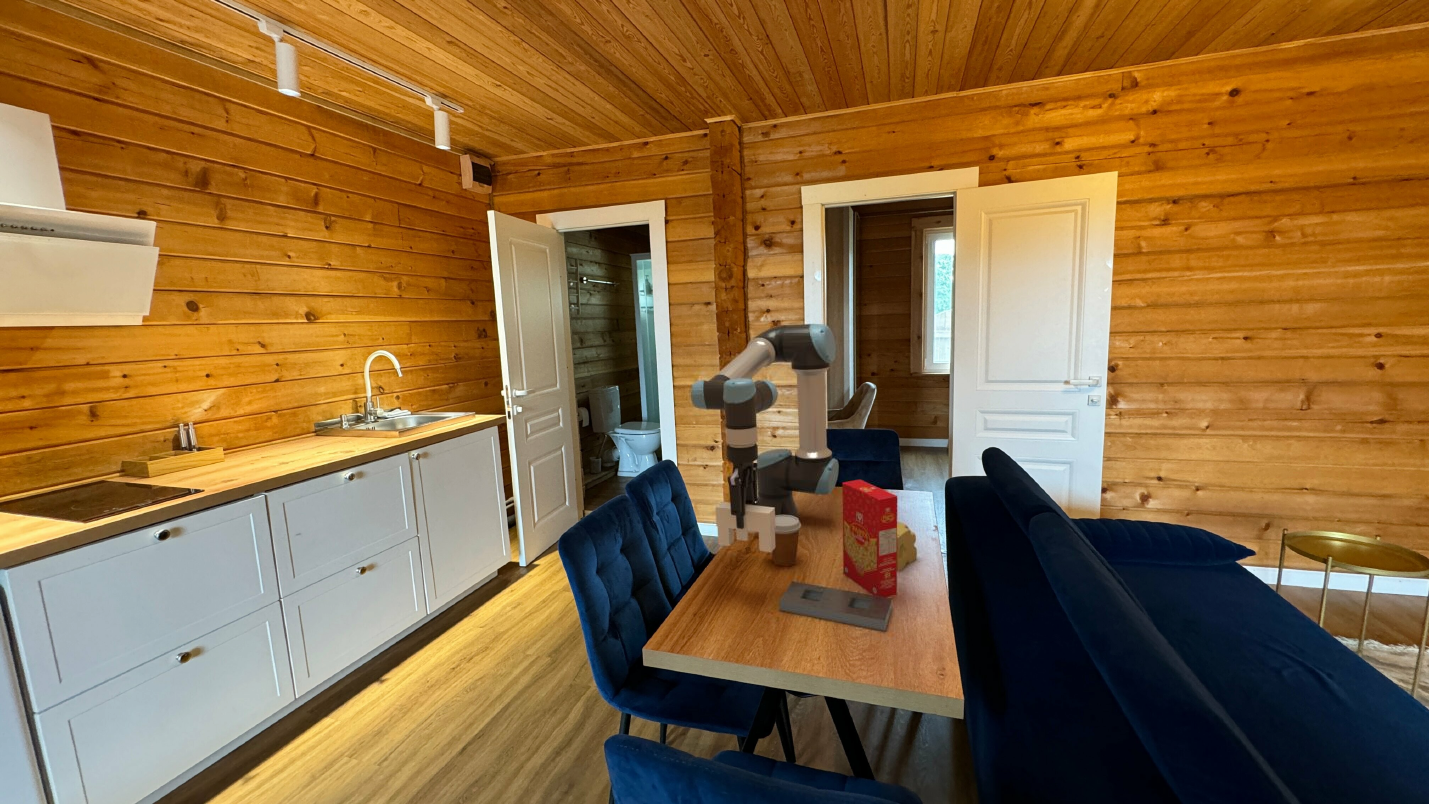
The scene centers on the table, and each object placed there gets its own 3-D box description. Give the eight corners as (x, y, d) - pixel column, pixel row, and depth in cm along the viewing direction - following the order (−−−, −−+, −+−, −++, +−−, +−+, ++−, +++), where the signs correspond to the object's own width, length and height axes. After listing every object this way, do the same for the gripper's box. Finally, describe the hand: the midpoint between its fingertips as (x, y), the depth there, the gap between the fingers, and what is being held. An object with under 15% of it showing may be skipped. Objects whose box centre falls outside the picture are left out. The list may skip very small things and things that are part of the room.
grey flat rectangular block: (779, 610, 130) (779, 600, 129) (792, 590, 139) (792, 581, 138) (885, 631, 120) (885, 620, 119) (892, 608, 128) (892, 598, 128)
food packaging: (843, 573, 146) (842, 482, 142) (860, 569, 148) (859, 479, 144) (878, 599, 133) (878, 499, 129) (896, 594, 134) (897, 495, 130)
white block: (717, 545, 138) (715, 507, 136) (724, 538, 142) (722, 501, 140) (770, 553, 132) (769, 513, 130) (776, 546, 136) (774, 507, 134)
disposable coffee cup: (800, 569, 150) (799, 527, 148) (765, 568, 151) (764, 526, 150) (802, 554, 159) (801, 514, 157) (769, 553, 161) (768, 513, 159)
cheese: (917, 559, 152) (917, 525, 151) (898, 573, 145) (898, 537, 143) (882, 549, 160) (882, 516, 158) (862, 562, 152) (862, 527, 151)
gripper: (741, 434, 142) (745, 521, 146) (712, 451, 126) (717, 548, 131) (768, 436, 138) (772, 524, 142) (742, 454, 123) (747, 552, 127)
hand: (746, 535), depth 136 cm, fingers closed on white block, 4 cm apart
